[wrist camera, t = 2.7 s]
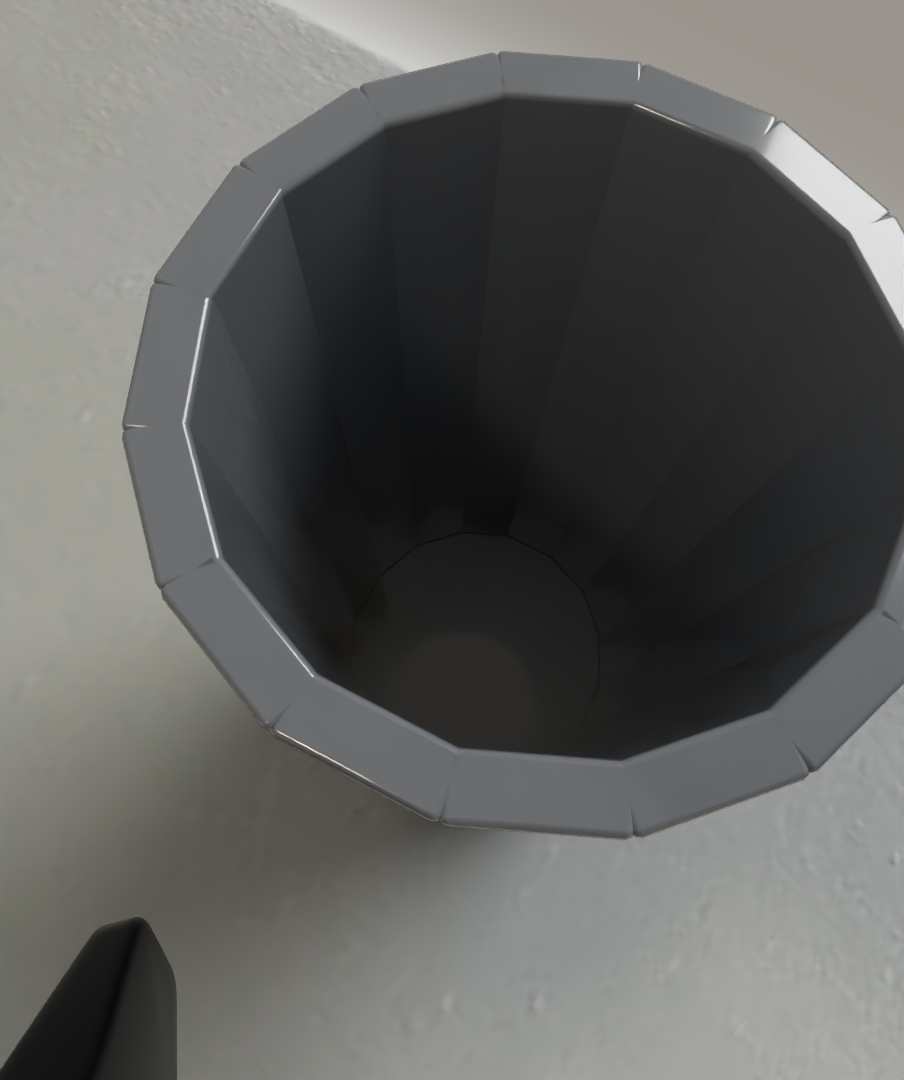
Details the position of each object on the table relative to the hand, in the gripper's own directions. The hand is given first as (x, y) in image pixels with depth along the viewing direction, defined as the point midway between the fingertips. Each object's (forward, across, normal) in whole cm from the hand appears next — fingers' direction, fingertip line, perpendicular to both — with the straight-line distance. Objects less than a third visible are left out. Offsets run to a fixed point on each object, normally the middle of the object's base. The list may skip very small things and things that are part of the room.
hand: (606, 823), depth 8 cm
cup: (+9, 0, +5) cm, 11 cm away
